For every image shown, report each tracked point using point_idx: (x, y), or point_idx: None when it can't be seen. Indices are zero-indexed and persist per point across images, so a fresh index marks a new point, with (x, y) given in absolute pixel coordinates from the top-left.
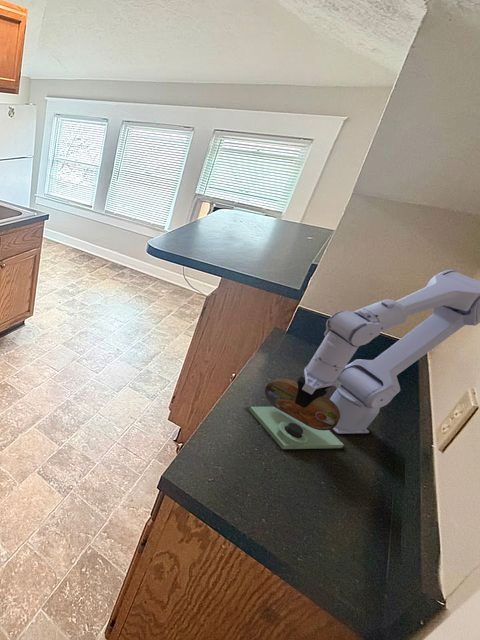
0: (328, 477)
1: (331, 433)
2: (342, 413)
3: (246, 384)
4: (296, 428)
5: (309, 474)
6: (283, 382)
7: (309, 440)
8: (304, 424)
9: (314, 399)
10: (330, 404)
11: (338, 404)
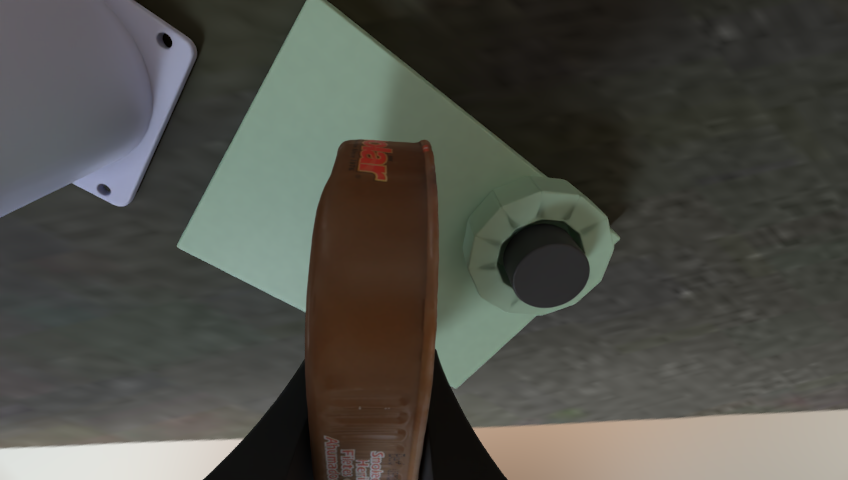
0: (663, 11)
1: (272, 81)
2: (59, 102)
3: None
4: (554, 274)
5: (705, 96)
6: None
7: (472, 164)
8: None
9: (487, 453)
10: (399, 346)
11: (23, 174)
